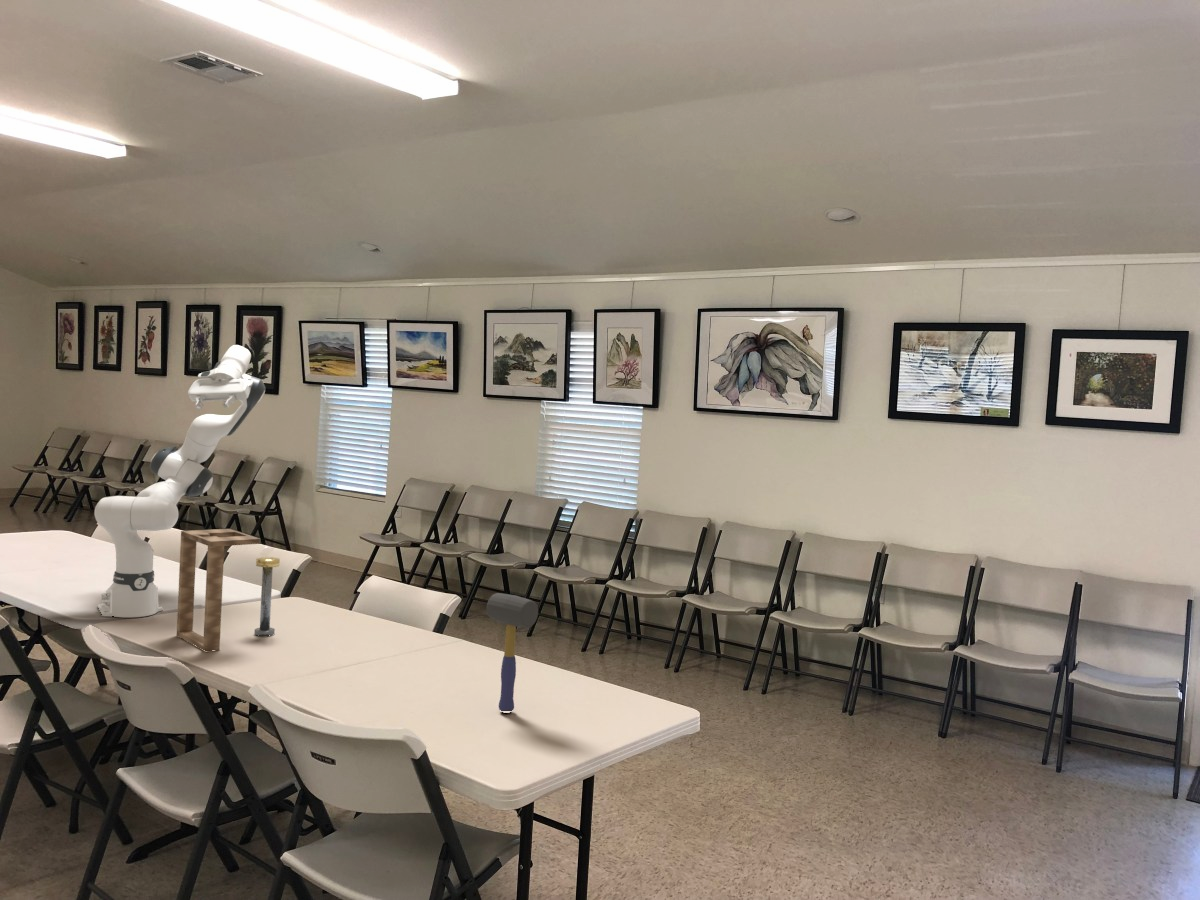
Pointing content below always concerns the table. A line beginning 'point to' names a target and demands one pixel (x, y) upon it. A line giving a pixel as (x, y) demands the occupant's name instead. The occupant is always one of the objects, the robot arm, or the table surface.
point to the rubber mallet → (510, 636)
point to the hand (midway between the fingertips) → (211, 406)
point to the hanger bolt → (266, 594)
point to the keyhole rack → (213, 582)
